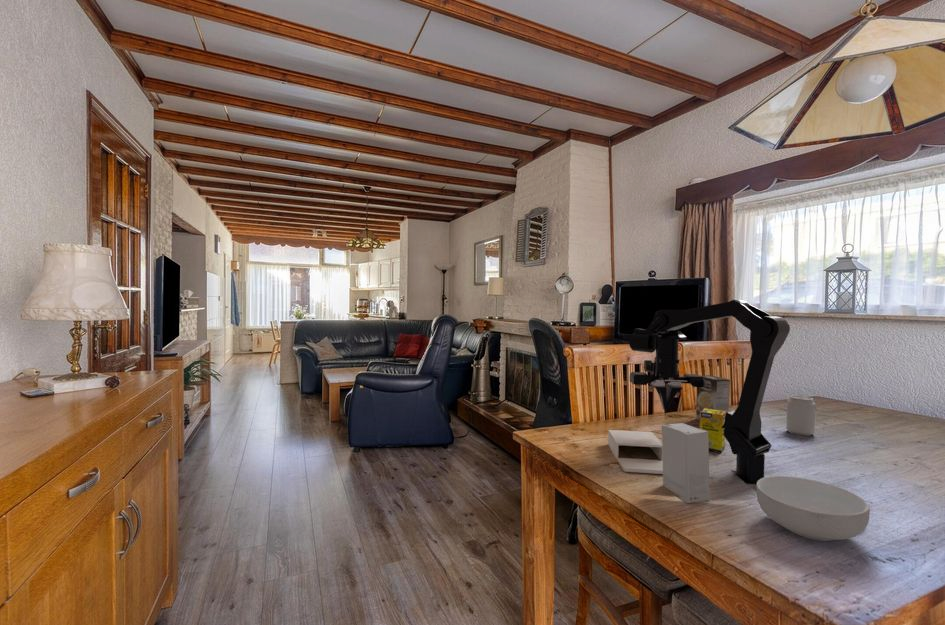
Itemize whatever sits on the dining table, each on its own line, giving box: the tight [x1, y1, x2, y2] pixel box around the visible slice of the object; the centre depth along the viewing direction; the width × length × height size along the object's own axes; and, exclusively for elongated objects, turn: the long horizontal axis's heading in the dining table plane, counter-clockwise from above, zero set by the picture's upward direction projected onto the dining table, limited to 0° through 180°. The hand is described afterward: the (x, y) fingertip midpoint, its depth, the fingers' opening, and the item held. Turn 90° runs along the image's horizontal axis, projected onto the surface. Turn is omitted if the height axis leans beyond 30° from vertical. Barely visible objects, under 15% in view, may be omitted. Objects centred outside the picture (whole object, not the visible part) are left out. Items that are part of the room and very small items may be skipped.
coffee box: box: [695, 374, 731, 421], centre depth 156 cm, size 9×6×16 cm
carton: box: [607, 429, 663, 460], centre depth 120 cm, size 12×12×5 cm
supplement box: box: [699, 408, 726, 454], centre depth 127 cm, size 6×6×11 cm
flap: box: [616, 457, 663, 475], centre depth 110 cm, size 1×12×9 cm
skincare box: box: [661, 422, 710, 504], centre depth 96 cm, size 8×6×15 cm
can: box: [785, 394, 817, 437], centre depth 144 cm, size 8×8×12 cm
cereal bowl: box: [755, 475, 870, 542], centre depth 81 cm, size 17×17×7 cm
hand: (665, 410), depth 123 cm, fingers closed
